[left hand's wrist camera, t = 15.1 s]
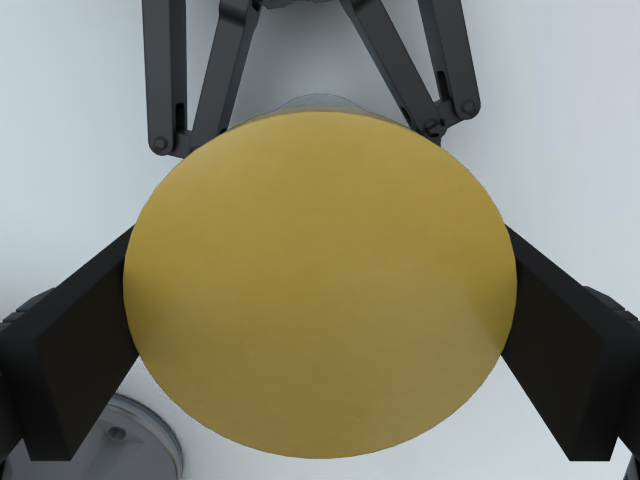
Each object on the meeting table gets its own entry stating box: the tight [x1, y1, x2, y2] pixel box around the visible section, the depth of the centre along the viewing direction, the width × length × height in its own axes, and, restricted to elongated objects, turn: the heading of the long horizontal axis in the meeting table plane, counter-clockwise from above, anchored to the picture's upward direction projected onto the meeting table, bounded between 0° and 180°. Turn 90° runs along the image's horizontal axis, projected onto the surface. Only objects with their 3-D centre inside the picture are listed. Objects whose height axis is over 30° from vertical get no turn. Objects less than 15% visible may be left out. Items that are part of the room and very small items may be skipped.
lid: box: [123, 106, 517, 459], centre depth 11 cm, size 10×10×2 cm
